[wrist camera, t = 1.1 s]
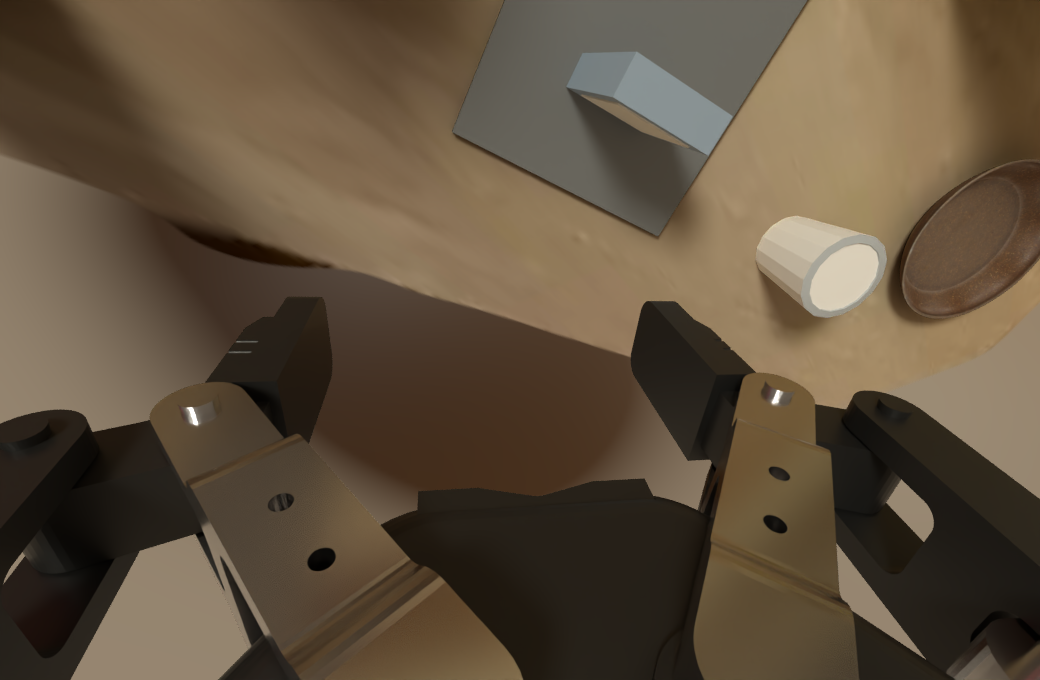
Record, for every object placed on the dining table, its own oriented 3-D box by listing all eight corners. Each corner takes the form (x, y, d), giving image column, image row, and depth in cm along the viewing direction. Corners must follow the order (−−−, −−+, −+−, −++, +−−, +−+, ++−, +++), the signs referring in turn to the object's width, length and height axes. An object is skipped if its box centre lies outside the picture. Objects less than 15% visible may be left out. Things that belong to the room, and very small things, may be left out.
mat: (452, 131, 33) (452, 132, 32) (621, -293, 24) (626, -301, 24) (655, 234, 39) (658, 236, 39) (846, -71, 30) (853, -73, 30)
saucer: (901, 333, 50) (924, 346, 48) (862, 232, 43) (886, 242, 40) (1041, 240, 47) (1073, 250, 44) (1024, 115, 39) (1061, 118, 37)
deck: (565, 88, 32) (612, 99, 24) (582, 53, 31) (636, 51, 23) (641, 134, 34) (706, 157, 26) (659, 102, 33) (733, 116, 25)
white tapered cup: (769, 297, 44) (822, 334, 38) (735, 249, 41) (787, 281, 35) (834, 245, 43) (900, 275, 37) (803, 191, 39) (870, 214, 33)
